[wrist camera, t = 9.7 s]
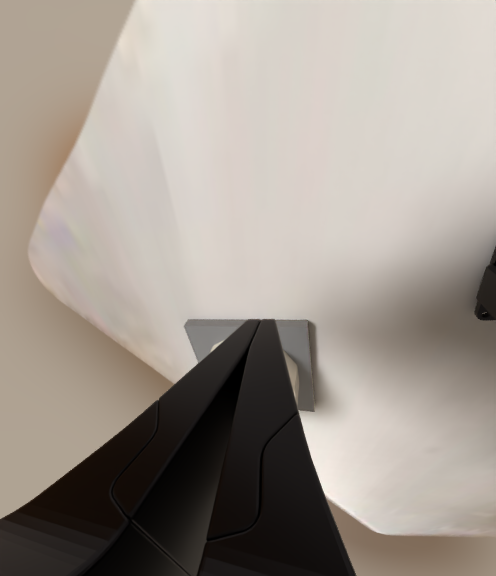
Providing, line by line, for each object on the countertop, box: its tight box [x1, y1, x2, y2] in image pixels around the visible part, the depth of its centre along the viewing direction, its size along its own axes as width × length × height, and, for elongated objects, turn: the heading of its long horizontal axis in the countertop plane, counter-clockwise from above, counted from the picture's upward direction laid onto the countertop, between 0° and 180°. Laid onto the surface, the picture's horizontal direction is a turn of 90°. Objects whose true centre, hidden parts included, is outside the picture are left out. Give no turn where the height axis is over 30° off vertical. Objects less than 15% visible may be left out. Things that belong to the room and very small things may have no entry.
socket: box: [184, 320, 315, 412], centre depth 26 cm, size 12×12×4 cm
